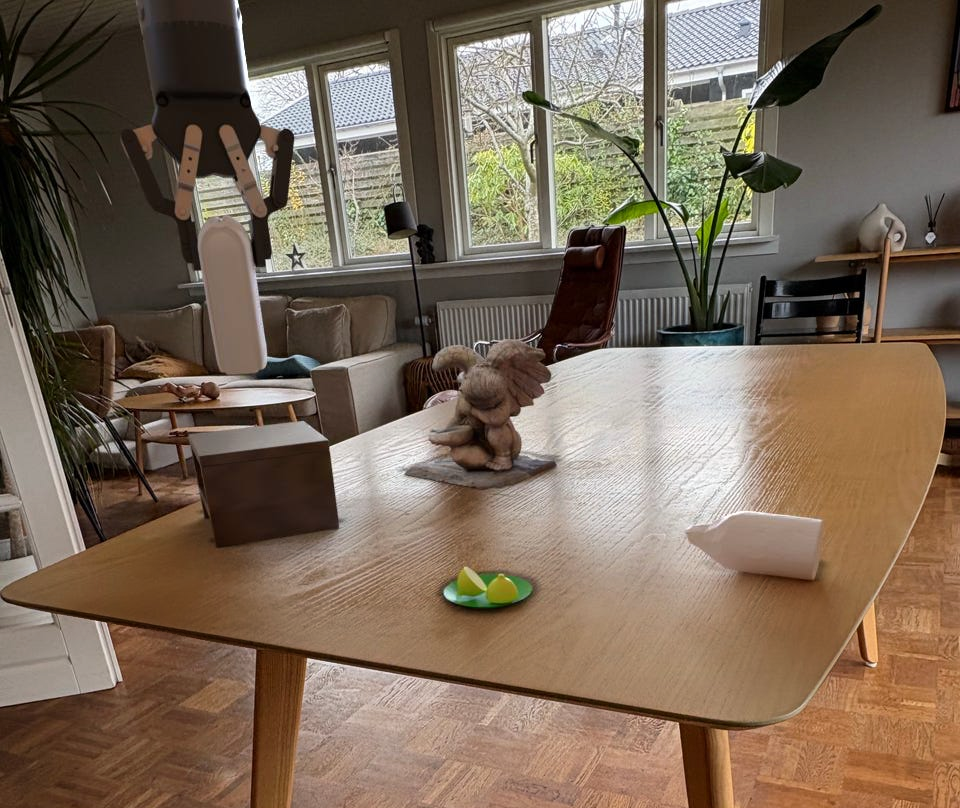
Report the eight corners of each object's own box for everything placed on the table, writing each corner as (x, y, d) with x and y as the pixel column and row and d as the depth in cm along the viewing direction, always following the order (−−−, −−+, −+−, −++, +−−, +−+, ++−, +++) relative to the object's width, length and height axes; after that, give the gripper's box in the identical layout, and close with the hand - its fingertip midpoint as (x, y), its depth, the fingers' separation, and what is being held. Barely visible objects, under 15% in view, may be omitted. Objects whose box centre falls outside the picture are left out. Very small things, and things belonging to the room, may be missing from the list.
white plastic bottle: (691, 553, 83) (695, 498, 81) (819, 567, 78) (827, 509, 76) (675, 573, 79) (678, 515, 76) (810, 589, 74) (818, 528, 71)
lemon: (442, 615, 72) (440, 585, 71) (445, 582, 79) (443, 554, 78) (534, 611, 72) (534, 580, 71) (529, 578, 79) (528, 550, 78)
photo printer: (223, 364, 79) (200, 219, 74) (269, 361, 80) (249, 217, 75) (215, 378, 70) (187, 213, 65) (267, 374, 71) (244, 211, 66)
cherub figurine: (394, 476, 118) (381, 343, 111) (471, 451, 131) (465, 330, 124) (494, 491, 108) (488, 346, 101) (568, 462, 121) (567, 332, 114)
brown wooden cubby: (216, 547, 93) (198, 456, 88) (203, 516, 104) (187, 434, 100) (339, 527, 97) (328, 439, 93) (314, 500, 109) (303, 420, 105)
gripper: (277, 42, 70) (303, 265, 77) (93, 36, 65) (140, 273, 73) (292, 19, 64) (320, 264, 71) (90, 11, 59) (142, 273, 66)
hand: (229, 267), depth 72 cm, fingers closed on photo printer, 4 cm apart
